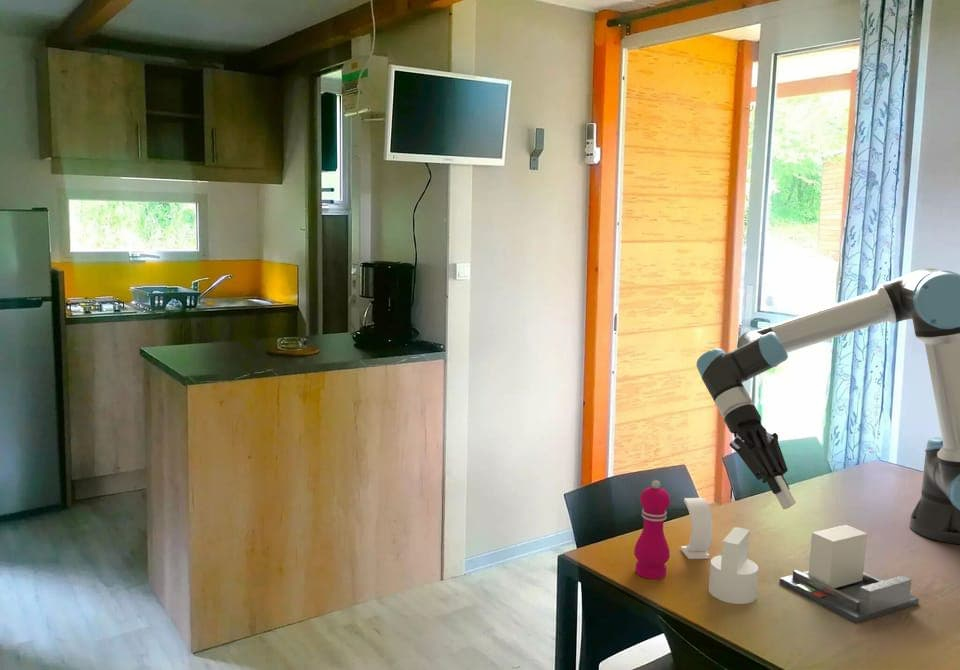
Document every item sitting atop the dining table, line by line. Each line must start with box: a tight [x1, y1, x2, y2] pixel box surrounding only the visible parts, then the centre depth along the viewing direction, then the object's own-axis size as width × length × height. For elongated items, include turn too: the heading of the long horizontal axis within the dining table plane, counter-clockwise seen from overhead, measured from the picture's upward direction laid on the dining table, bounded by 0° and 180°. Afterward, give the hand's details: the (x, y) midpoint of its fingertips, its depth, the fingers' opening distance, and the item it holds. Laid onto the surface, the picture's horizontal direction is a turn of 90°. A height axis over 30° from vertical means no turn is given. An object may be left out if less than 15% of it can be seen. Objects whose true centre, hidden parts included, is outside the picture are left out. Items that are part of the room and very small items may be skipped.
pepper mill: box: [633, 480, 671, 580], centre depth 166 cm, size 7×7×20 cm
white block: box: [808, 524, 868, 588], centre depth 163 cm, size 10×6×10 cm, turn 118°
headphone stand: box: [680, 497, 714, 560], centre depth 177 cm, size 5×6×12 cm
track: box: [779, 569, 920, 625], centre depth 160 cm, size 18×18×6 cm
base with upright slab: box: [708, 526, 759, 605], centre depth 159 cm, size 9×9×12 cm
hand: (789, 505), depth 172 cm, fingers closed
